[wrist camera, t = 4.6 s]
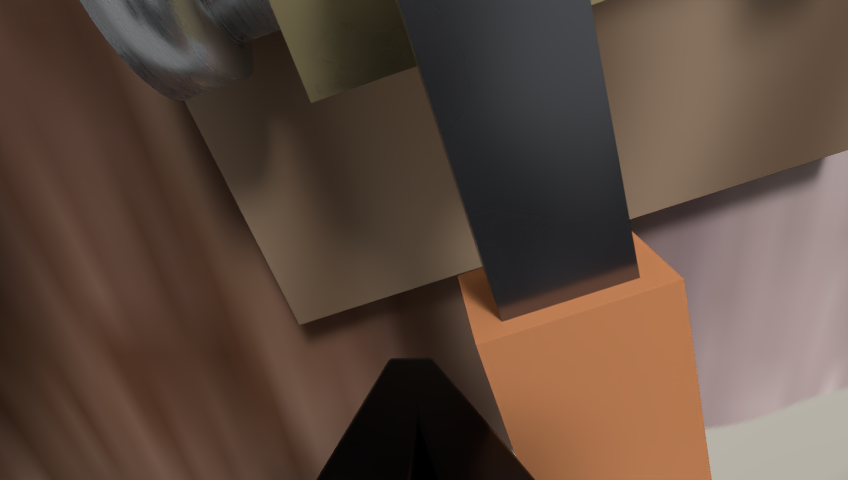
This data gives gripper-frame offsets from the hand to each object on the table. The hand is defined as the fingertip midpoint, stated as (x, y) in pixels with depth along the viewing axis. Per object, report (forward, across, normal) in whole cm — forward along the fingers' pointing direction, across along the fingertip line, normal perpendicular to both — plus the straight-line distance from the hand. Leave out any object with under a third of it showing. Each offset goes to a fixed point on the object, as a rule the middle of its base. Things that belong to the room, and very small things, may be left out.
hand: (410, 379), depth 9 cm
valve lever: (0, -2, -3) cm, 4 cm away
